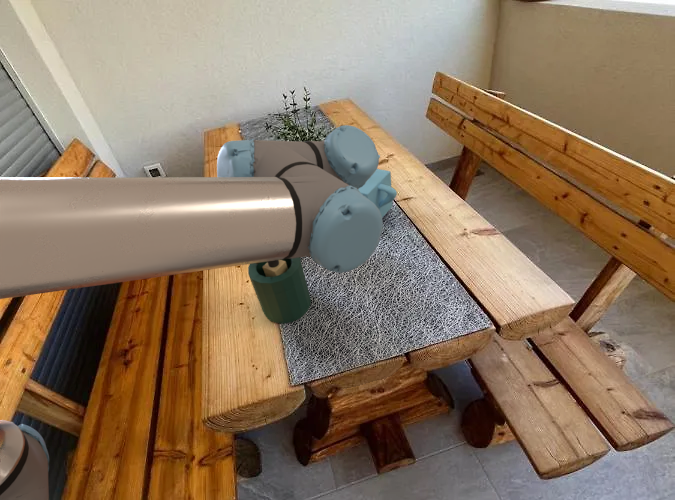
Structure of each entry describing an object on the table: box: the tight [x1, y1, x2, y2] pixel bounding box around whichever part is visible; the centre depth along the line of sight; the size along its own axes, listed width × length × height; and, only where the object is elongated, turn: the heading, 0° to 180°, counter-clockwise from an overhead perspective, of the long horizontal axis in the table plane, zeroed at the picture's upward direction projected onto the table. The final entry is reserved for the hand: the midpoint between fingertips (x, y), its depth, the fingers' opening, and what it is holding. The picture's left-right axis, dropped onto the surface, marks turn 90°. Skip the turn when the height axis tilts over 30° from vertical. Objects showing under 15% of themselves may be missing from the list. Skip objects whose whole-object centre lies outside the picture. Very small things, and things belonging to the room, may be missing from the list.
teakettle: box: [358, 154, 398, 219], centre depth 103 cm, size 19×19×15 cm
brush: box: [263, 260, 288, 277], centre depth 76 cm, size 3×3×16 cm
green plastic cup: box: [247, 257, 312, 324], centre depth 82 cm, size 11×11×12 cm
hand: (258, 254), depth 79 cm, fingers closed on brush, 2 cm apart
